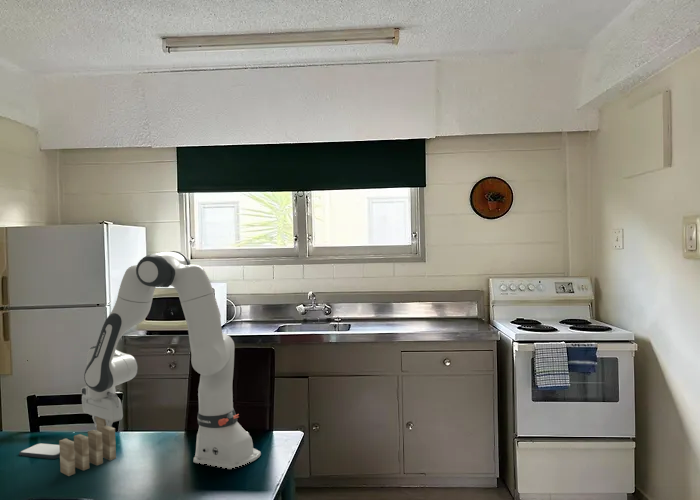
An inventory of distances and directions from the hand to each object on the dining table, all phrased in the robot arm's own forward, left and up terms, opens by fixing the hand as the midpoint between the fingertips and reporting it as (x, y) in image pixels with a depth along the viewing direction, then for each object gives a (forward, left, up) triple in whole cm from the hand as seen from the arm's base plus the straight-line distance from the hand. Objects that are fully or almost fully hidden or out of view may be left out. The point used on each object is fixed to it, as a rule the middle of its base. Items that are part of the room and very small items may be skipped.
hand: (103, 429), depth 188 cm
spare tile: (0, 0, -6) cm, 6 cm away
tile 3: (-12, +14, -6) cm, 19 cm away
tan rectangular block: (-12, +5, -6) cm, 14 cm away
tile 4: (-12, +19, -6) cm, 23 cm away
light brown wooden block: (-12, +10, -6) cm, 16 cm away
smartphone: (+11, +14, -6) cm, 19 cm away
